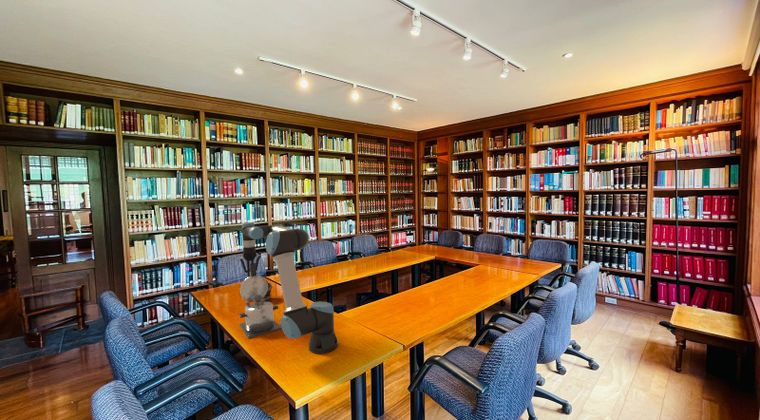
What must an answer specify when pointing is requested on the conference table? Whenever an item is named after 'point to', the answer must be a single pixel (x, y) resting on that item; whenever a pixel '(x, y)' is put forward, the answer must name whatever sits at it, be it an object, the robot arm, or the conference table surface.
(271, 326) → the cooker
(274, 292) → the conference table surface
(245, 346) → the conference table surface
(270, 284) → the flowerpot
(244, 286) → the lid
